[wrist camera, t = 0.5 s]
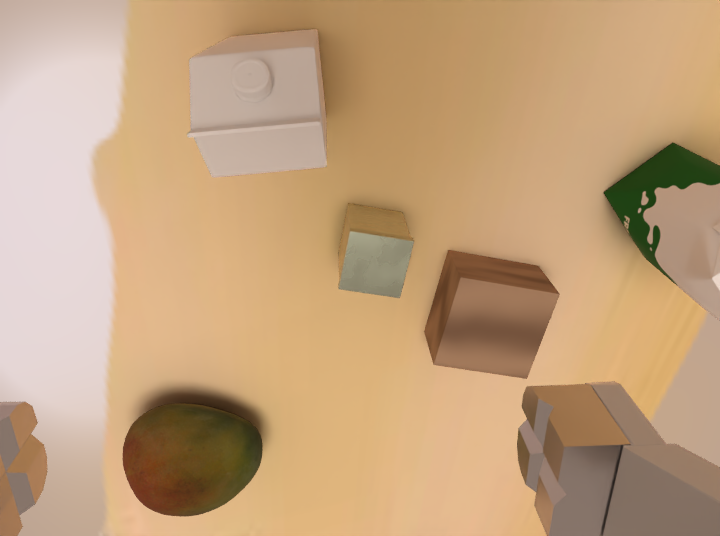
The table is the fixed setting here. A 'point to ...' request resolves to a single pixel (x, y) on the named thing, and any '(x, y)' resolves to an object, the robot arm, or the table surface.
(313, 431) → the table surface
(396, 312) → the table surface
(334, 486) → the table surface
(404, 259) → the grey wooden block
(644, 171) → the soya milk
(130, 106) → the table surface
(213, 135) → the milk carton
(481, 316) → the walnut block
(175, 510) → the fruit
